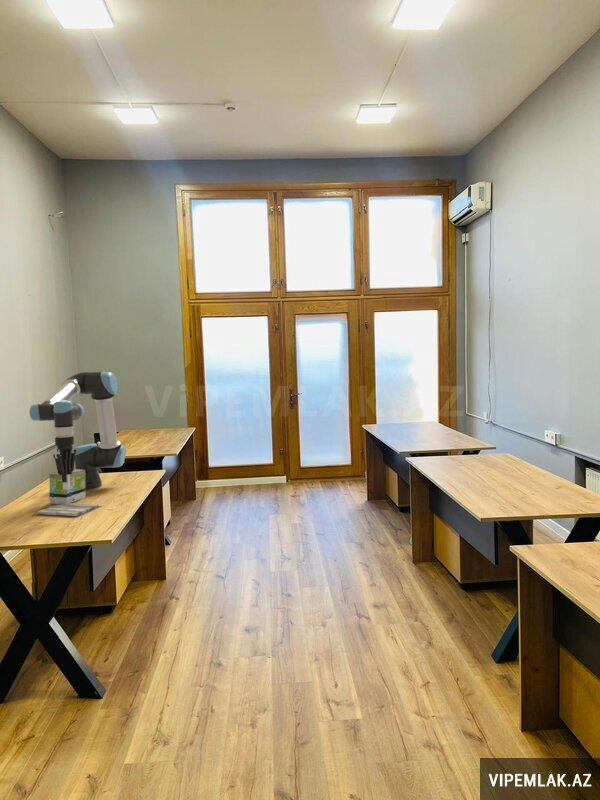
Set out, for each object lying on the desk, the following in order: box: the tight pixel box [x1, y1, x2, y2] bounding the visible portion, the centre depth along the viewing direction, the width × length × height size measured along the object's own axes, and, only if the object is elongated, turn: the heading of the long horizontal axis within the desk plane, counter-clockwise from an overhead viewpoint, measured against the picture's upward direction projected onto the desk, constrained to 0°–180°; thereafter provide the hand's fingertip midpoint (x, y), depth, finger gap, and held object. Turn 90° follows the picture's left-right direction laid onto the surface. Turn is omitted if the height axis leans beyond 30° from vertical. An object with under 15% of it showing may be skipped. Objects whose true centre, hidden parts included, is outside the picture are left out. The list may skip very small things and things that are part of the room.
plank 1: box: [36, 506, 68, 515], centre depth 240 cm, size 8×10×1 cm
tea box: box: [49, 468, 86, 505], centre depth 261 cm, size 15×10×15 cm, turn 168°
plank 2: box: [57, 508, 87, 516], centre depth 238 cm, size 8×10×1 cm
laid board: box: [50, 502, 99, 513], centre depth 247 cm, size 8×20×1 cm, turn 77°
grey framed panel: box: [35, 505, 103, 519], centre depth 244 cm, size 19×22×1 cm
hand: (66, 489), depth 234 cm, fingers closed
